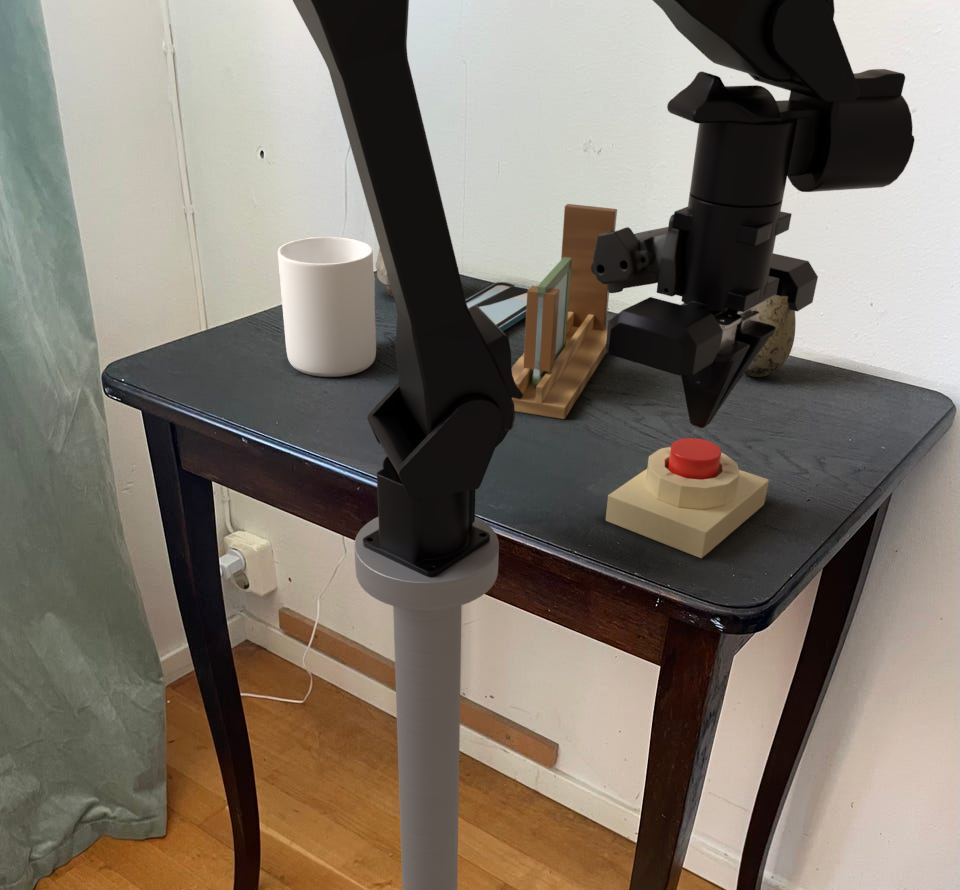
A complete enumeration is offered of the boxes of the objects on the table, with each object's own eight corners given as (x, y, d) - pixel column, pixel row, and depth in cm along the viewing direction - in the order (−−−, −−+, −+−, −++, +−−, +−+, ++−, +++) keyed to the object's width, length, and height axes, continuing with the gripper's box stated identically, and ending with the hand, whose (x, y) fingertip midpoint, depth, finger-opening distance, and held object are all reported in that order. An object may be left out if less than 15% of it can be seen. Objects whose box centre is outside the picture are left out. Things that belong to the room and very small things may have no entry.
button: (702, 487, 73) (706, 465, 72) (658, 471, 74) (661, 449, 73) (726, 469, 75) (730, 447, 74) (683, 454, 77) (686, 433, 76)
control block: (701, 559, 72) (710, 509, 69) (604, 521, 76) (610, 472, 73) (764, 505, 78) (774, 458, 76) (672, 472, 82) (679, 427, 80)
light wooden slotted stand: (564, 419, 90) (575, 271, 82) (488, 407, 91) (493, 261, 84) (614, 340, 106) (627, 209, 98) (549, 331, 107) (557, 202, 100)
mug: (412, 345, 103) (410, 237, 97) (342, 386, 94) (336, 270, 88) (342, 329, 107) (336, 223, 100) (269, 367, 98) (257, 253, 92)
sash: (549, 388, 92) (555, 288, 86) (522, 383, 92) (527, 284, 87) (573, 352, 99) (581, 258, 93) (548, 349, 99) (554, 255, 94)
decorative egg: (730, 386, 96) (748, 281, 91) (717, 362, 101) (734, 261, 96) (793, 387, 97) (815, 282, 91) (777, 363, 101) (797, 262, 96)
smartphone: (426, 321, 107) (498, 280, 117) (426, 330, 107) (498, 288, 118) (487, 335, 104) (555, 292, 114) (487, 344, 104) (555, 300, 115)
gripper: (693, 152, 74) (666, 358, 83) (543, 200, 62) (530, 435, 71) (841, 178, 68) (795, 396, 77) (708, 236, 56) (671, 487, 65)
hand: (699, 425), depth 73 cm, fingers closed
